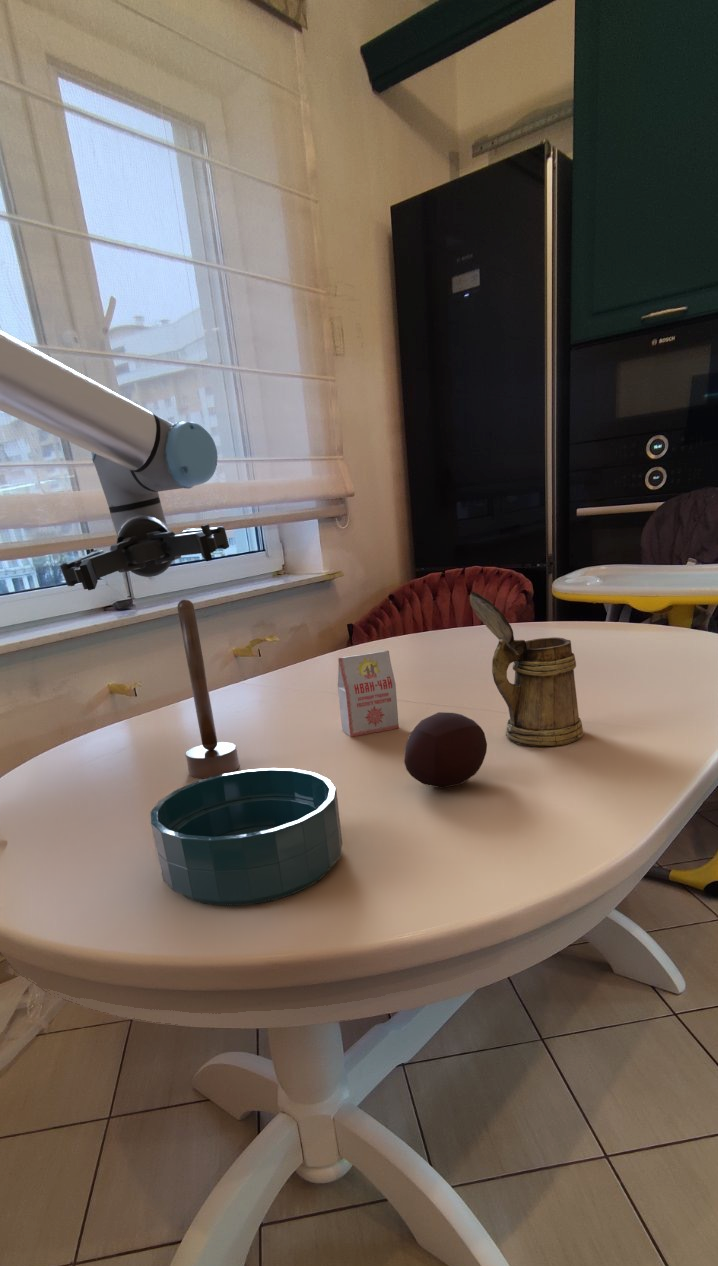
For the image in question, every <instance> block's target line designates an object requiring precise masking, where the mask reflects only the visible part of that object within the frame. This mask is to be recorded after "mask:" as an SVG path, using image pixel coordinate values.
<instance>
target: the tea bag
mask: <svg viewBox="0 0 718 1266" xmlns="http://www.w3.org/2000/svg"><path fill="white" fill-rule="evenodd" d="M337 662H338V665H337V667H338V668H337V670H338V672H337V690H338V691H337V693H338V702H339V711H340V712H339V713H340V720H341V721H340V723H341V730H342V731H343V733H345V734H347V736H348V737H350V738H352V737H358V736H362V735H363V736H364V735H369V734H374V733H380V732H385V731H391V730H396V729H400V725H399V724H400V723H399V713H398V712H399V711H398V698H397V697H398V696H397V684H396V680H395V676H394V670H393V666H392V662H391V656H390V651H389V650H383V651H376V652H370V653H363V654H355V655H349V656H344V657H338V658H337Z"/></svg>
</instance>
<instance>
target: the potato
mask: <svg viewBox="0 0 718 1266" xmlns="http://www.w3.org/2000/svg"><path fill="white" fill-rule="evenodd" d="M487 749H488V742H487V739H486V735H485V732H484V730H483V729H482V726H480V725H479V724H478V723H477V722H476V721H475V720H473V719H471V718H469V717H468V716H466V715H463V714H460V713H456V712H444V711H443V712H442V711H441V712H440V711H439V712H437V713H436V712H435V713H434V714H432V715H430V716H427V717H425V718H423V719H421V720H420V721H419V722H418V724H416V726H415V727H414V728H413V730H412V731H411V732H410V734H409V735H408V738H407V741H406V744H405V747H404V760H403V762H404V766H405V769H406V771H407V772H408V774H409V775H410V776H411V778H413V779H415V780H416V781H418V782H419V783H421V784H423V785H426V786H431V787H434V788H435V787H436V788H441V789H443V788H450V787H453V786H458V785H461V784H463V783H464V782H467V781H468V780H469V779H471V778H472V777H474V776H475V775H476V774H477V772H479V770H480V769H481V767H482V765H483V764H484V761H485V758H486V754H487V751H488V750H487Z"/></svg>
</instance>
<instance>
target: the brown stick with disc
mask: <svg viewBox="0 0 718 1266" xmlns="http://www.w3.org/2000/svg"><path fill="white" fill-rule="evenodd" d="M176 608H177V613H178V621H179V625H180V630H181V634H182V635H181V636H182V642H183V646H184V652H185V658H186V663H187V669H188V675H189V679H190V685H191V691H192V696H193V701H194V709H195V713H196V718H197V723H198V729H199V734H200V740H201V744H200V745H197V746H193V747H192V748H190V749H188V750H187V751H185V758H186V764H187V770H188V774H189V776H191V777H193V778H196V779H207V778H210V777H214V776H217V775H221V774H227V773H233V772H237V771H238V769H239V768H240V760H239V754H238V749H237V745H236V744H235V743H233V742H227V741H218V737H217V732H216V725H215V720H214V713H213V708H212V703H211V697H210V691H209V685H208V679H207V674H206V668H205V662H204V657H203V651H202V646H201V640H200V633H199V628H198V622H197V616H196V610H195V605H194V603H193V602H192V601H191V600H190V599H181V600H180V601H179V602H178V603H177V607H176Z"/></svg>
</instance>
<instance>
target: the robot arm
mask: <svg viewBox="0 0 718 1266" xmlns="http://www.w3.org/2000/svg"><path fill="white" fill-rule="evenodd" d="M0 412H3V413H4V414H6V415H9V416H11V417H14V418H16V419H17V420H20V421H22V422H24V423H27V424H29V425H31V426H34V427H36V428H38V429H40V430H42V431H43V432H47V433H49V434H51V435H53V436H55V437H57V438H59V439H62V440H64V441H66V442H69V443H71V444H73V445H75V446H77V447H79V448H82V449H84V450H86V451H87V452H91V457H92V458H91V461H92V463H93V464H94V467H95V470H96V473H97V477H98V480H99V483H100V486H101V488H102V491H103V494H104V497H105V501H106V503H107V506H108V510H109V514H110V518H111V521H112V524H113V527H114V528H113V529H114V531H115V533H116V537H117V539H116V543H115V544H112V545H110V547H109V548H110V549H109V550H107V551H105V552H104V550H100V549H93V551H91V552H90V553H88V554H86V555H83V556H80V557H78V558H75V559H72V560H71V561H68V562H63V563H62V564H60V565H59V567H60V571H61V573H62V576H63V578H64V581H65V583H66V587H74V586H76V585H77V584H79V583H80V584H82V588H83V590H88V591H92V590H95V589H96V588H97V585H98V583H99V579H101V578H104V577H106V576H108V575H111V574H113V573H116V572H118V573H128V572H131V573H133V574H135V575H137V576H140V577H142V578H143V577H144V578H154V577H157V576H159V575H161V574H163V573H164V572H166V571H167V570H168V569H169V568H170V567H171V565H172V563H173V561H176V560H179V559H181V558H182V556H189V555H190V556H191V555H198V554H201V556H202V558H203V560H205V562H210V561H213V555H212V554H214V553H215V552H217V550H227V549H229V548H230V544H229V540H228V539H229V538H228V535H227V532H226V528H225V526H221V525H219V526H214V527H211V526H210V524H209V523H205V524H202V525H200V528H191V527H188V528H186V529H184V530H183V531H182V533H180V534H176V533H175V532H174V531H170V530H169V527H168V524H167V520H166V517H165V512H164V510H163V505H162V503H161V498H160V494H159V492H164V491H165V492H166V491H173V490H179V489H187V490H188V489H192V488H193V487H195V486H199V485H203V484H205V483H208V481H210V480H211V479H212V477H213V476H214V474H215V472H216V470H217V466H218V457H219V456H218V449H217V445H216V443H215V441H214V438H213V437H212V434H211V433H210V432H209V431H208V429H206V428H205V427H204V426H202V425H201V424H200V423H197V422H194V421H182V420H181V421H177V422H174V423H173V422H171V421H169V420H167V419H165V418H163V417H161V416H159V415H157V414H155V413H154V412H152V411H149V410H148V409H146V408H144V407H142V406H140V405H139V404H137V403H135V402H133V401H131V400H129V399H128V398H126V397H124V396H122V395H120V394H118V393H116V392H115V391H112V390H111V389H109V388H107V387H106V386H104V385H102V384H100V383H98V382H96V381H95V380H93V379H91V378H89V377H87V376H85V375H84V374H81V373H80V372H78V371H76V370H74V369H73V368H70V367H68V366H67V365H65V364H64V363H62V362H60V361H58V360H56V359H54V358H52V357H50V356H49V355H47V354H45V353H43V352H42V351H39V350H37V349H36V348H34V347H32V346H30V345H29V344H26V343H25V342H23V341H21V340H19V339H17V338H15V337H14V336H12V335H9V334H8V333H6V332H4V331H2V330H0Z"/></svg>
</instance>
